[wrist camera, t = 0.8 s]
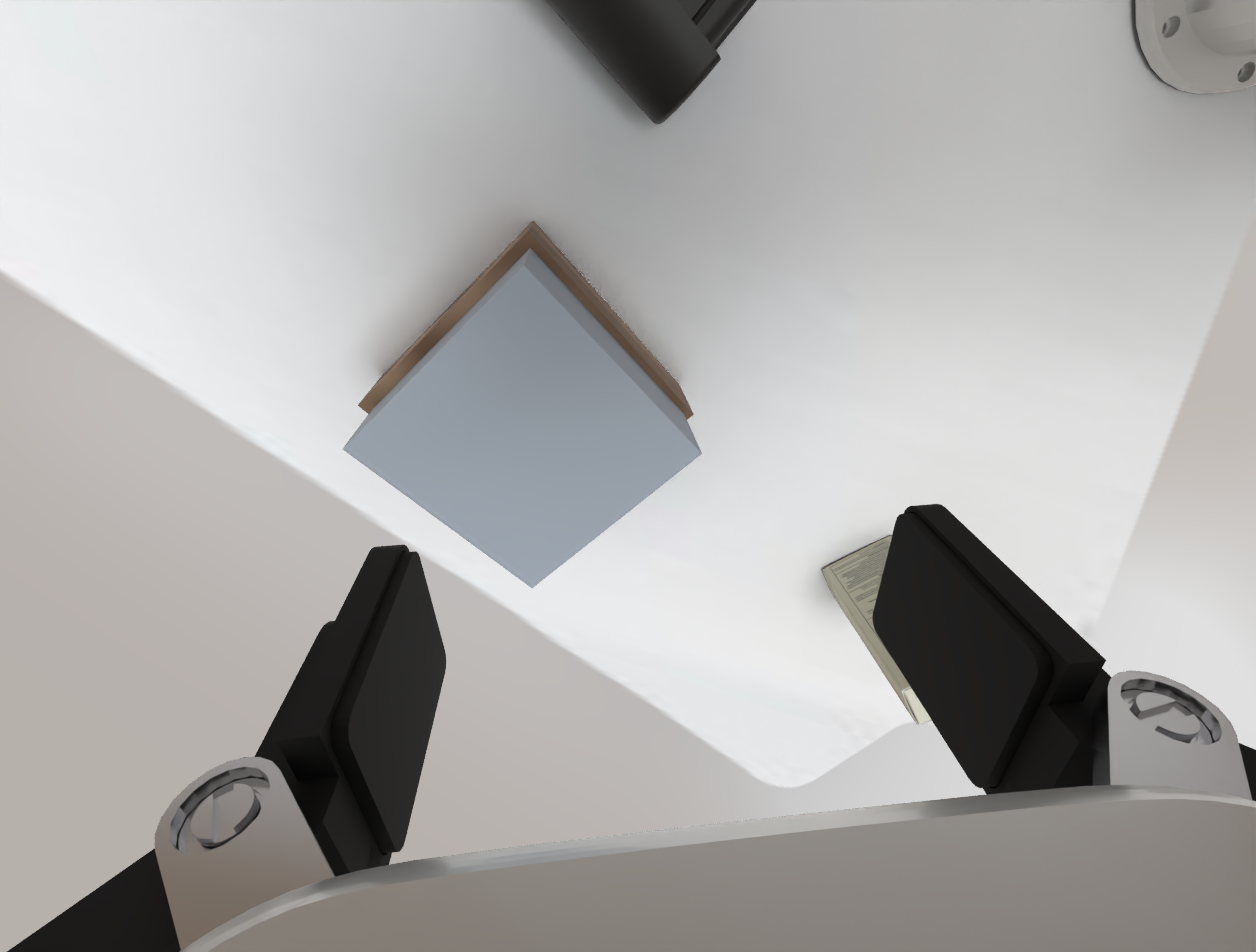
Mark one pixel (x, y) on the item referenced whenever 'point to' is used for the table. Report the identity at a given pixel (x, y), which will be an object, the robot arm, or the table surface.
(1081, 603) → the table surface
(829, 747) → the table surface
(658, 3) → the end cap
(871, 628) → the skincare box
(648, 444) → the slate top block
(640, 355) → the walnut base block
